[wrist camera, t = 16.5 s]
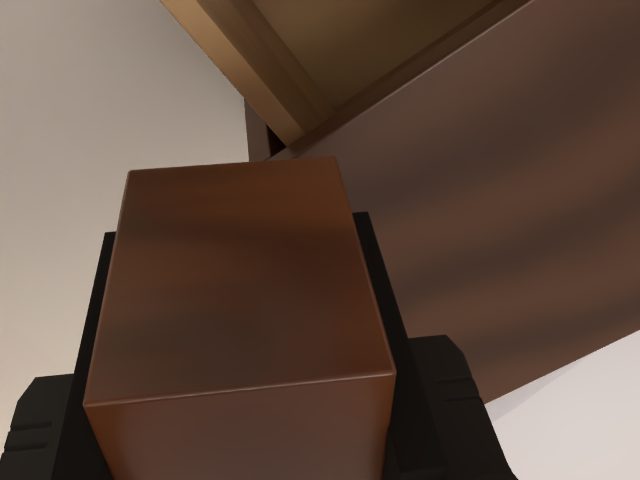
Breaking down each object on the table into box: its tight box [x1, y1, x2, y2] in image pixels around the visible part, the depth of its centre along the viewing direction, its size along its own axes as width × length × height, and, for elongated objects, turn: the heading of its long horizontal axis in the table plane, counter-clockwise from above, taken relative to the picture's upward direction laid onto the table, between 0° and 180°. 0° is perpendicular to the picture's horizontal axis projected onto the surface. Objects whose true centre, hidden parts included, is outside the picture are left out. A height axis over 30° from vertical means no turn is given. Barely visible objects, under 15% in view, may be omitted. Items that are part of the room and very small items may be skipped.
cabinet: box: [244, 0, 640, 404], centre depth 27 cm, size 17×14×11 cm
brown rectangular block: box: [83, 156, 397, 480], centre depth 13 cm, size 4×6×6 cm
